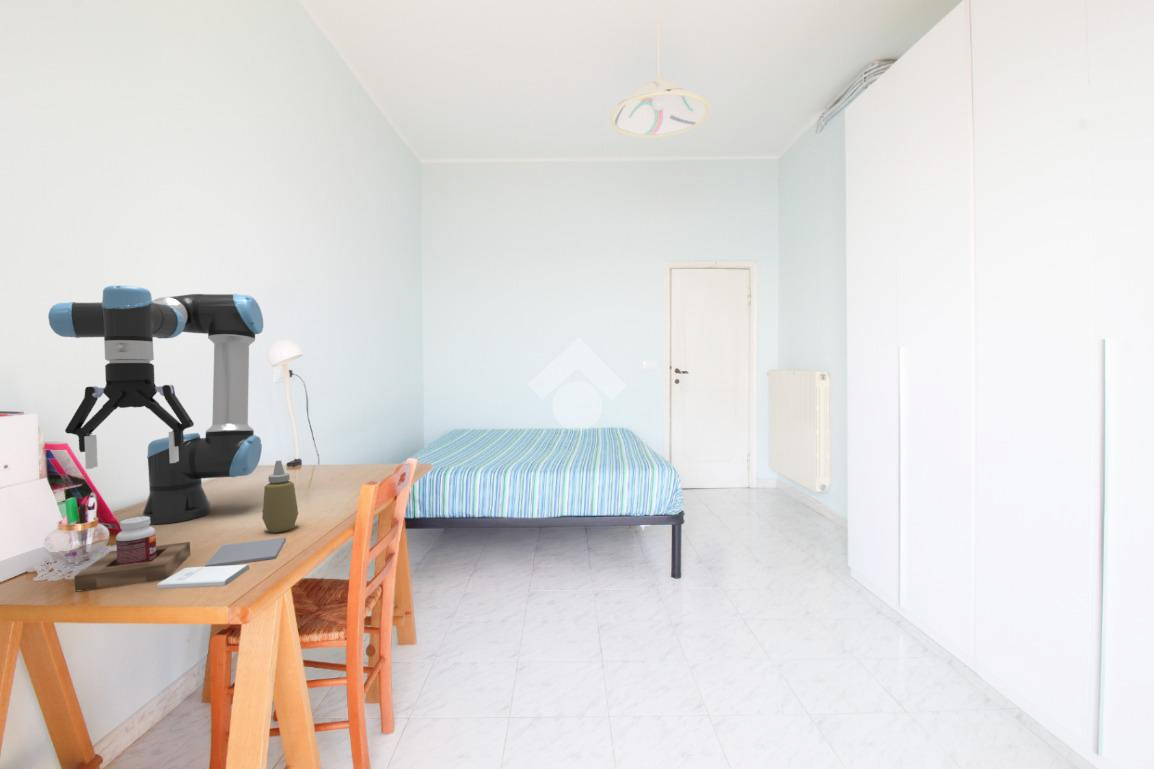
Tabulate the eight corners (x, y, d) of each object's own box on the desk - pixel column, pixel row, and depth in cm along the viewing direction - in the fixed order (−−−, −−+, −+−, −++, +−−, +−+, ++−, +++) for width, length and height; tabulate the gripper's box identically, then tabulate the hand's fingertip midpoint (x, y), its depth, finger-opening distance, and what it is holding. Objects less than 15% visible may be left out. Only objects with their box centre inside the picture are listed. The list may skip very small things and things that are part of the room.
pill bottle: (158, 571, 104) (156, 519, 104) (118, 580, 100) (115, 526, 99) (155, 563, 109) (153, 513, 108) (117, 572, 104) (114, 519, 104)
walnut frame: (111, 564, 108) (111, 551, 108) (190, 554, 113) (189, 541, 113) (75, 591, 95) (74, 576, 95) (165, 579, 100) (165, 564, 100)
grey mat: (222, 547, 118) (222, 545, 118) (285, 539, 122) (285, 537, 122) (204, 568, 105) (204, 565, 105) (275, 558, 110) (275, 555, 110)
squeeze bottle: (306, 525, 133) (303, 458, 132) (280, 535, 125) (277, 464, 125) (281, 523, 135) (279, 457, 135) (255, 533, 127) (252, 463, 127)
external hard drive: (224, 588, 97) (157, 591, 96) (249, 571, 105) (187, 573, 104) (224, 580, 97) (156, 583, 96) (249, 563, 105) (186, 566, 104)
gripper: (38, 362, 95) (43, 473, 95) (197, 361, 104) (200, 462, 105) (61, 363, 102) (65, 467, 102) (208, 362, 111) (211, 457, 112)
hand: (134, 465), depth 104 cm, fingers open, 13 cm apart
